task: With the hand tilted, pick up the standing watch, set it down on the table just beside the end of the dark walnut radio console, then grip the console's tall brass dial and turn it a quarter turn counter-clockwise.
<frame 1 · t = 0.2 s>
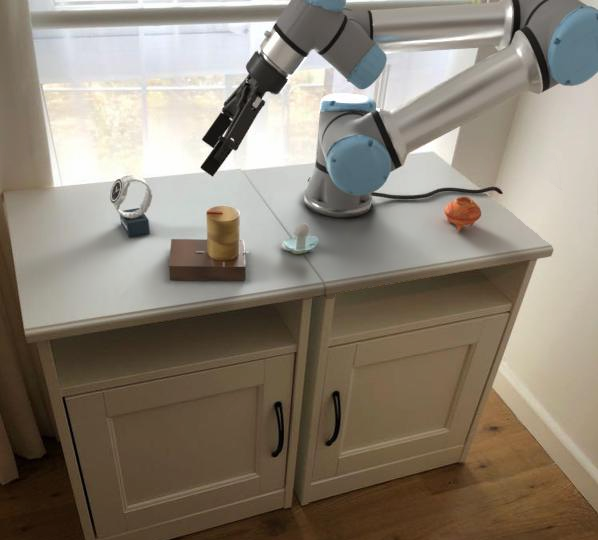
hand: (207, 157, 127), 15 cm above the table, tool tilted 35°, fingers open, 13 cm apart
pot: (459, 226, 146), on the table
dial: (223, 232, 122), point 7 cm above the table, hinge at 0.0°
pacifier: (297, 249, 134), on the table
watch: (135, 230, 136), on the table
console: (208, 266, 127), on the table
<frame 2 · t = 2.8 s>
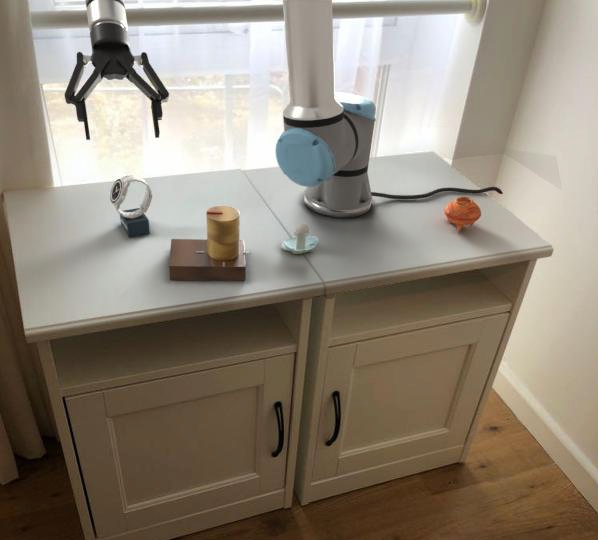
hand: (123, 136, 133), 15 cm above the table, tool tilted 45°, fingers open, 13 cm apart
nothing on the table moved.
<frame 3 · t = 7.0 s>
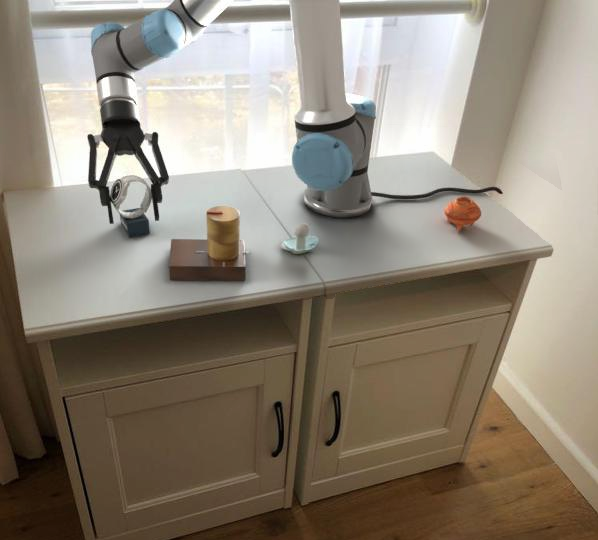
hand: (134, 220, 131), 4 cm above the table, tool tilted 45°, fingers closed on watch, 8 cm apart
watch: (135, 230, 136), on the table, touching gripper
everything else where it was.
when the fingers open (4 cm above the table, at t = 14.9 s): watch stays where it is, on the table.
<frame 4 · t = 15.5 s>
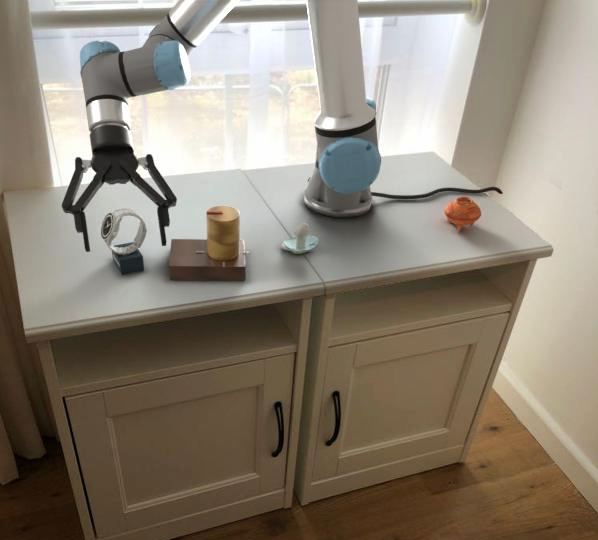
hand: (126, 247, 120), 5 cm above the table, tool tilted 45°, fingers open, 13 cm apart
watch: (128, 266, 125), on the table
everything else where it was.
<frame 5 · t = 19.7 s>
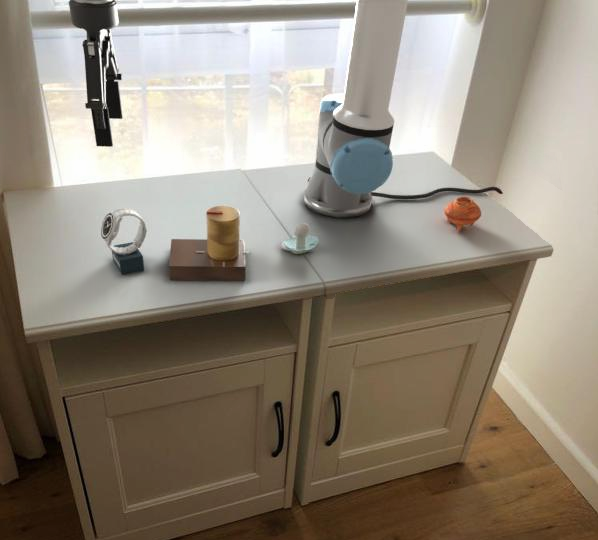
hand: (110, 131, 121), 20 cm above the table, tool pointing down, fingers open, 13 cm apart
nothing on the table moved.
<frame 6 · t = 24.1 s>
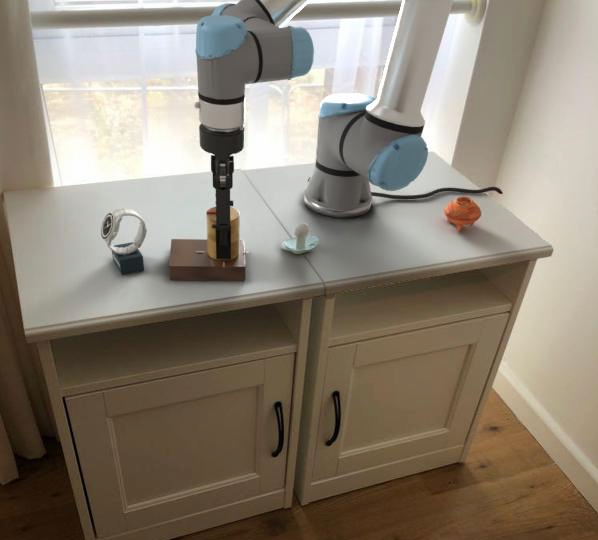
hand: (223, 248, 125), 4 cm above the table, tool pointing down, fingers closed on dial, 6 cm apart
dial: (223, 232, 122), point 7 cm above the table, hinge at -0.1°, touching gripper
everything else where it was.
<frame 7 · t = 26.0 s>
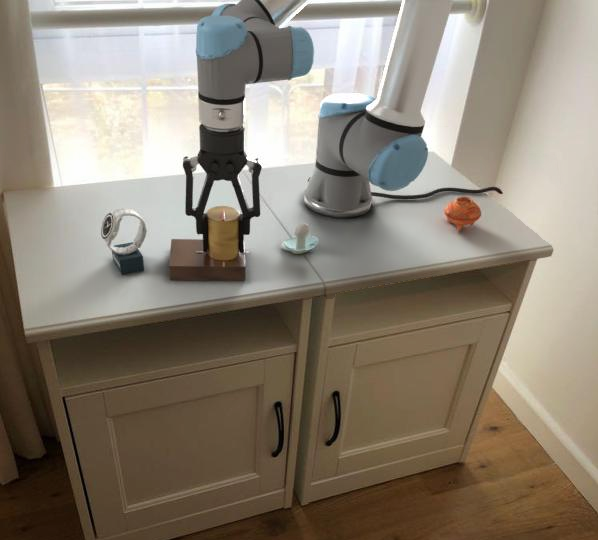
hand: (223, 248, 125), 4 cm above the table, tool pointing down, fingers closed on dial, 6 cm apart
dial: (223, 232, 122), point 7 cm above the table, hinge at 89.9°, touching gripper
everything else where it was.
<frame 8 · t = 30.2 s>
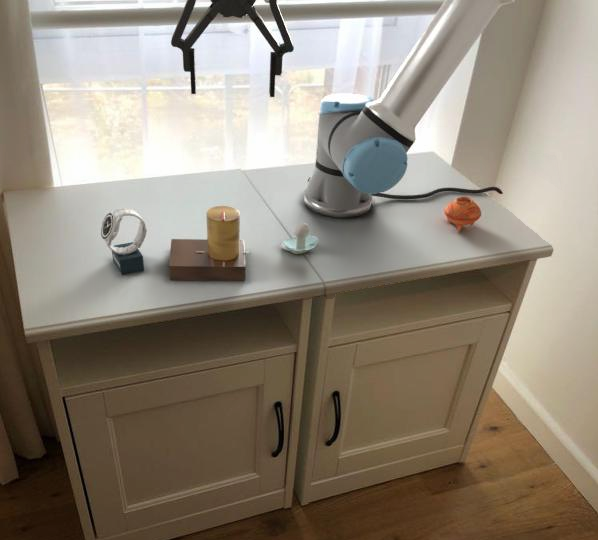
hand: (233, 93, 116), 29 cm above the table, tool pointing down, fingers open, 13 cm apart
dial: (223, 232, 122), point 7 cm above the table, hinge at 89.7°
everything else where it was.
at the end: watch inside the target area on the table beside the console (0.3 cm from its centre), on the table; watch tilted 0°; dial at +90° (first picture: +0°) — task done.
